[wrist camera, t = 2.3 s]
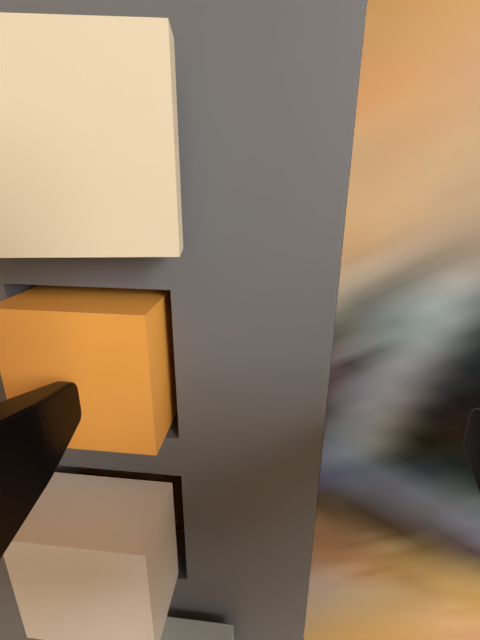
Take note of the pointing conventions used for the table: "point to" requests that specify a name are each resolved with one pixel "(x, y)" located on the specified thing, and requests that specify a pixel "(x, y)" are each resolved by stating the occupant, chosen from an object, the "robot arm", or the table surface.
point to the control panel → (238, 294)
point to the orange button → (96, 359)
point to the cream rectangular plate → (88, 137)
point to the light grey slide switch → (196, 630)
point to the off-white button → (96, 559)
